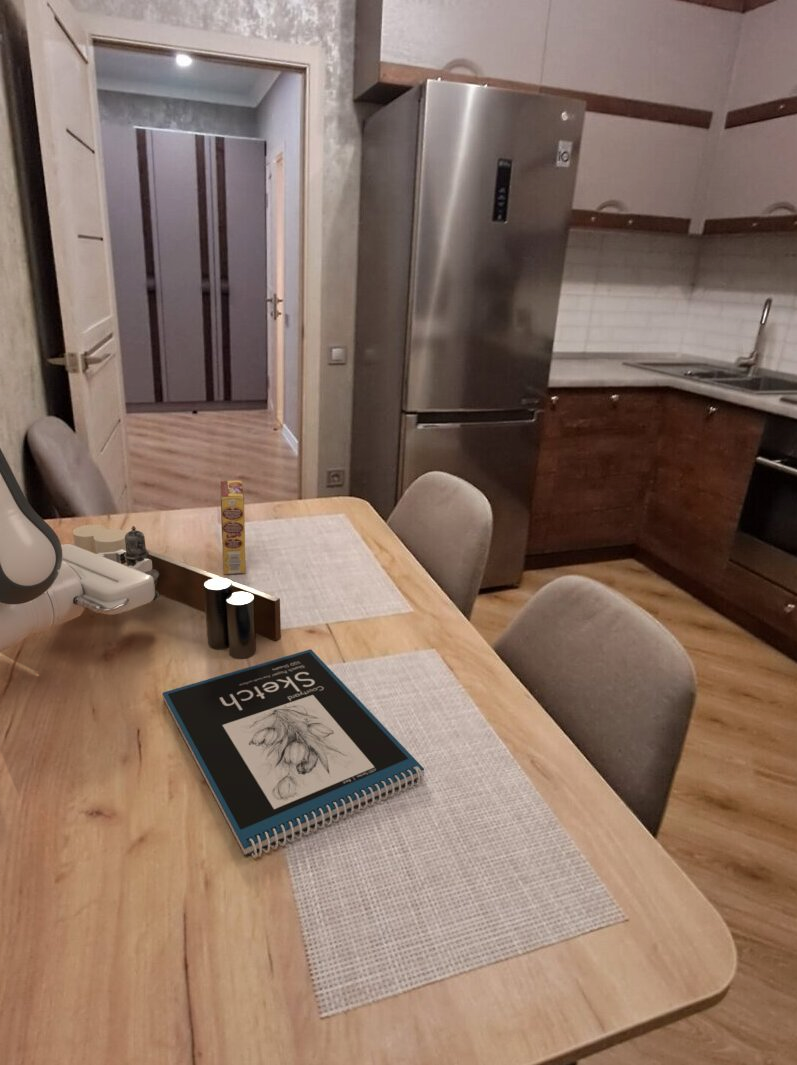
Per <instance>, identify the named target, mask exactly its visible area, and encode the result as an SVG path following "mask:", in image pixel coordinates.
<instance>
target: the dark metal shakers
mask: <svg viewBox="0 0 797 1065" xmlns="http://www.w3.org/2000/svg"><path fill="white" fill-rule="evenodd" d="M230 580H231V579H229V578H226V577H223V578H213V579H209V580H207V581H206V582H205V583H204V599H205V612H206V613H205V612H204V613H205V624H206V638H207V646H208V647H209V648H211V649H213V650H225V649H228V654H229V656H230V657H231V658H234V659H236V660H243V659H244V660H245V659H249V658H252V657H253V656H254V655H255V654H256V653H257V633H256V628H255V604H254V596H253V595H252V594H251V593H248V592H235V593H232V582H231V581H232V580H231V581H230Z"/></svg>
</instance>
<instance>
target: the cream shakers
mask: <svg viewBox="0 0 797 1065" xmlns="http://www.w3.org/2000/svg"><path fill="white" fill-rule="evenodd" d="M128 532H129V531H126V530H125V529H118V528H117V529H116V528H115V529H114V528H113V529H107V527H106V526H105V525H102V524H96V523H95V524H93V523H92V524H84V525H81V526H78V527H75V528H74V529H73V530H72V533H71V534H72V539H73V545H74V546H77V547H79V548H82V549H84V550H87V551H89V552H92V553H95V554H98V553H105V552H115V551H118V550H121V549H123V550H126V545H125V535H126V534H127V533H128ZM123 565H125V566H127V563H125V564H123Z"/></svg>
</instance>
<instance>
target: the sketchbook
mask: <svg viewBox="0 0 797 1065" xmlns="http://www.w3.org/2000/svg"><path fill="white" fill-rule="evenodd" d="M162 700H163V702H164V704H165V705H166V708H167V709H168V712H169V714H170V715H171V717H172V719H173V721H174V723H175V725H176V727H177V729H178V731H179V732H180V734H181V737H182V739H183V741H184V742H185V744H186V746H187V749H188V750H189V751H190V754H191V756H192V757H193V759H194V761H195V763H196V765H197V767H198V769H199V771H200V773H201V775H202V777H203V779H204V780H205V783H206V785H207V786H208V788H209V790H210V792H211V794H212V797H213V798H214V800H215V802H216V803H217V806H218V807H219V809H220V812H221V813H222V815H223V818H224V819H225V821H226V823H227V825H228V826H229V829H230V830H231V833H232V834H233V836H234V838H235V840H236V842H237V844H238V846H239V847H240V850H241V851H242V853H243V855H244V857H245V856H248V855H251V857H252V858H253V859H255V860H256V859H257V858H259V857H261V856H262V853H263V852H264V853H265V854H268V853H269V852H270V851H271V849H272V850H277V849H278V847H279V846H281V847H284V846H285V845H286V843H287V842H288V843H293V842H294V839H297V840H299V839H301V838H302V835H303V836H308V835H309V834H310V832H312V833H314V832H316V831H317V829H323V828H324V827H325V825H326V826H330V825H332V822H334V823H337V822H338V821H339V819H346V817H347V816H352V815H353V814H354V813H359V812H360V810H361V809H362V810H366V809H367V807H368V806H369V807H372V806H374V804H375V803H376V804H379V803H380V802H381V801H386V800H388V797H389V798H392V797H393V796H394V795H395V794H396V795H399V794H400V793H401V792H405V791H407V789H412V788H413V786H418V785H419V784H422V783H423V782H424V776H425V768H424V767H423V766H422V765H421V764H420V763H419V761H417V759H416V758H415V757H413V755H412V754H411V753H410V752H409V751H408V750H407V749H406V748H405V747H404V746H403V744H402V743H400V741H398V739H397V738H395V736H394V735H393V734H392V733H391V732H390V731H389V730H388V728H386V726H384V724H383V723H381V721H380V720H379V719H378V718H377V717H376V716H375V715H374V714H373V712H371V711H370V709H368V708H367V706H365V705H364V704H363V703H362V701H361V700H360V699H359V698H358V697H357V696H356V695H355V694H354V693H353V692H352V691H351V689H350V688H348V687H347V685H346V684H345V683H344V682H343V681H342V680H341V679H340V678H339V677H338V676H337V675H336V674H335V672H333V670H331V669H330V668H329V666H328V665H327V664H326V663H325V662H324V661H323V660H322V659H321V658H320V657H319V656H318V655H317V654H316V653H315V651H313V649H312V648H310V649H307V650H303V651H299V652H296V653H293V654H288V655H286V656H283V657H279V658H275V659H272V660H269V661H265V662H262V663H258V664H255V665H252V666H248V667H244V668H241V669H239V670H235V671H231V672H228V673H224V674H221V675H218V676H214V677H211V678H207V679H204V680H201V681H197V682H194V683H191V684H187V685H183V686H180V687H176V688H173V689H170V690H166V691H164V692H162ZM415 781H416V782H415ZM410 783H411V784H410ZM409 784H410V785H409ZM402 786H405V787H404V788H402ZM396 789H398V790H397V791H396ZM389 792H391V794H389ZM382 795H385V796H384V797H383V796H382ZM376 798H378V799H377V800H376ZM369 801H371V803H370V802H369ZM364 803H365V804H364ZM362 804H364V806H363V805H362ZM355 807H357V809H355ZM349 810H350V812H348V811H349ZM342 813H343V815H341V814H342ZM334 817H336V818H334ZM327 820H329V822H327ZM321 822H322V824H321V825H320V823H321ZM312 827H314V828H312ZM306 829H307V830H306ZM304 830H306V832H305V831H304ZM298 833H299V835H297V834H298ZM289 837H291V839H290V838H289ZM281 840H283V842H281ZM273 844H275V845H273ZM266 848H267V849H266ZM257 851H259V852H257Z"/></svg>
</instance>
